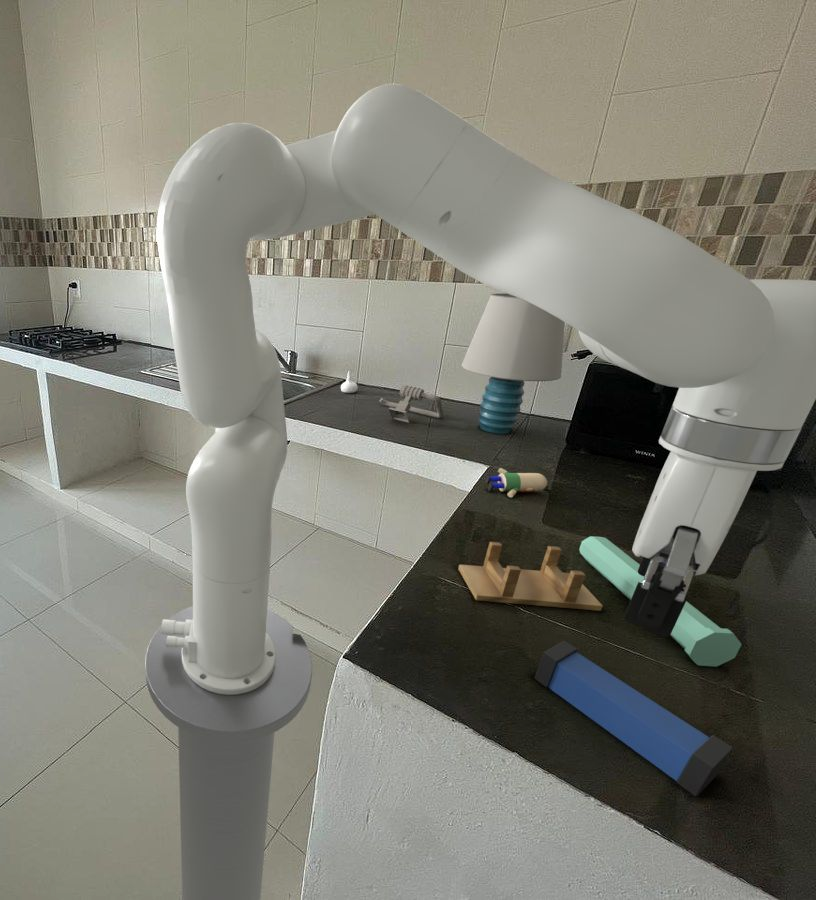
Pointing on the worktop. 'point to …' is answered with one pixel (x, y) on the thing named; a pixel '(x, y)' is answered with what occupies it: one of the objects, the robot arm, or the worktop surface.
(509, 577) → the holder
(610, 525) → the worktop surface
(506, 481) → the toy figurine
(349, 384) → the garlic bulb
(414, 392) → the toilet paper hanger
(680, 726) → the handle
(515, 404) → the lamp
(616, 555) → the mint octagonal rod
